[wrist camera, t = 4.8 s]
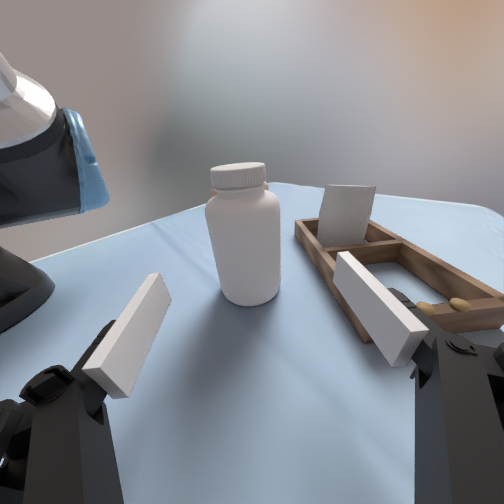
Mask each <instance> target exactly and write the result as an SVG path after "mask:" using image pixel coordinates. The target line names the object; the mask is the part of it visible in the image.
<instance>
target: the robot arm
mask: <svg viewBox="0 0 504 504" xmlns="http://www.w3.org/2000/svg"><path fill="white" fill-rule="evenodd" d="M108 202H109V193H108V190H107V188H106V185H105V183H104V180H103V177H102V174H101V171H100V169H99V166H98V163H97V160H96V157H95V155H94V152H93V149H92V146H91V144H90V141H89V138H88V135H87V133H86V130H85V127H84V125H83V121H82V119H81V116H80V115H79V114H78V113H77V112H76V111H73V110H68V109H66V108H62V109H59V108H58V107H57V105H56V103H55V102H54V100H53V98H52V97H51V95H50V94H49V93H48V91H47V90H46V89H45V88H44V87H43V86H42V85H40V84H39V83H38V82H36V81H35V80H33V79H32V78H30V77H28V76H26V75H24V74H22V73H20V72H18V71H16V70H14V69H13V68H11V67H10V65H9V64H8V62H7V61H6V60H5V58H4V56H3V55H2V54H1V52H0V229H1V228H7V227H12V226H17V225H22V224H27V223H33V222H38V221H43V220H49V219H54V218H59V217H64V216H70V215H75V214H82V213H84V212H85V211H89V210H93V209H97V208H100V207H103V206H105V205H106V204H107V203H108ZM333 283H334V284H335V286H336V287H337V288H338V290H339V291H340V293H341V294H342V296H343V297H344V299H345V300H346V301H347V303H348V304H349V306H350V307H351V309H352V310H353V312H354V313H355V315H356V316H357V317H358V319H359V320H360V322H361V323H362V325H363V326H364V328H365V329H366V330H367V332H368V333H369V335H370V336H371V338H372V339H373V341H374V342H375V344H376V345H377V346H378V348H379V349H380V351H381V352H382V354H383V355H384V357H385V358H386V359H387V361H388V362H389V364H390V365H391V367H398V366H407V365H408V363H409V362H410V360H411V358H412V360H413V361H414V362H415V363H416V365H417V366H416V368H415V369H414V371H413V372H412V374H411V376H410V378H411V379H413V378H414V377H415V504H504V343H502V344H501V345H500V346H499V347H498V348H492V347H486V346H480V345H474V344H473V343H471V342H470V341H468V340H467V339H465V338H463V337H461V336H459V335H457V334H453V333H449V332H445V331H444V330H443V329H442V328H440V327H439V326H438V325H437V324H436V323H435V322H434V321H433V320H432V319H430V318H429V317H428V316H427V315H426V314H425V313H424V312H423V311H422V310H420V309H419V308H417V306H416V305H415V304H414V303H413V302H411V301H410V300H409V299H408V298H407V297H406V296H405V295H404V294H403V293H401V292H399V291H397V290H396V289H394V288H385V287H384V286H383V285H382V284H381V283H380V282H379V281H378V280H377V279H376V278H375V277H374V276H373V275H372V274H371V273H370V272H369V271H368V270H367V269H366V268H365V267H364V266H363V265H362V264H361V263H360V262H359V261H357V260H356V259H355V258H354V257H353V256H352V255H351V254H350V253H349V252H348V251H345V252H338V253H337V259H336V265H335V271H334V277H333ZM54 288H55V284H54V282H53V281H52V280H51V279H50V278H49V276H48V275H47V274H46V273H45V272H44V271H42V270H40V269H39V268H37V267H35V266H33V265H32V264H30V263H28V262H26V261H25V260H23V259H21V258H19V257H18V256H16V255H14V254H12V253H11V252H9V251H7V250H5V249H4V248H2V247H1V246H0V332H2V331H3V330H5V329H7V328H9V327H10V326H12V325H13V324H15V323H17V322H18V321H20V320H21V319H23V318H24V317H26V316H27V315H29V314H30V313H31V312H33V311H34V310H35V309H37V308H38V307H39V306H40V305H41V304H42V303H44V302H45V301H46V300H47V299H48V298H49V296H50V295H51V294H52V292H53V291H54ZM171 301H172V299H171V297H170V294H169V292H168V290H167V287H166V285H165V283H164V281H163V278H162V276H161V274H160V272H159V273H150V274H149V275H148V276H147V278H146V279H145V281H144V282H143V284H142V285H141V286H140V288H139V289H138V291H137V292H136V293H135V295H134V296H133V298H132V299H131V300H130V302H129V303H128V305H127V306H126V307H125V309H124V310H123V312H122V313H121V315H120V316H119V317H118V319H117V320H112V321H111V322H110V323H108V324H107V325H106V326H105V327H104V328H103V329H102V330H101V332H100V333H99V334H98V336H97V338H95V340H94V341H93V342H92V344H91V346H89V348H88V349H87V350H86V352H85V353H84V354H83V356H82V357H81V358H80V360H79V361H78V362H77V364H76V365H75V366H74V368H73V369H72V370H71V372H69V371H68V370H67V369H66V368H65V367H63V366H61V365H55V366H51V367H49V368H47V369H45V370H43V371H41V372H40V373H39V374H37V375H36V376H34V377H33V378H32V379H31V380H30V381H29V382H28V383H27V384H26V385H25V386H24V388H23V389H22V390H21V393H20V395H19V397H21V398H22V399H24V400H25V401H24V402H22V403H17V402H16V401H14V400H12V399H6V400H3V401H0V461H1V459H2V458H4V461H3V463H2V465H1V467H0V504H124V501H123V496H122V490H121V485H120V479H119V474H118V468H117V463H116V457H115V452H114V447H113V441H112V436H111V430H110V425H109V419H108V414H107V408H106V405H105V403H104V402H103V401H104V399H105V397H106V395H107V394H108V395H109V396H110V397H111V398H113V399H119V398H127V397H129V395H130V393H131V391H132V389H133V386H134V384H135V382H136V380H137V377H138V375H139V373H140V371H141V368H142V366H143V364H144V362H145V359H146V357H147V355H148V352H149V350H150V348H151V346H152V343H153V341H154V339H155V337H156V334H157V332H158V330H159V328H160V325H161V323H162V321H163V319H164V316H165V314H166V312H167V310H168V307H169V305H170V303H171Z"/></svg>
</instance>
